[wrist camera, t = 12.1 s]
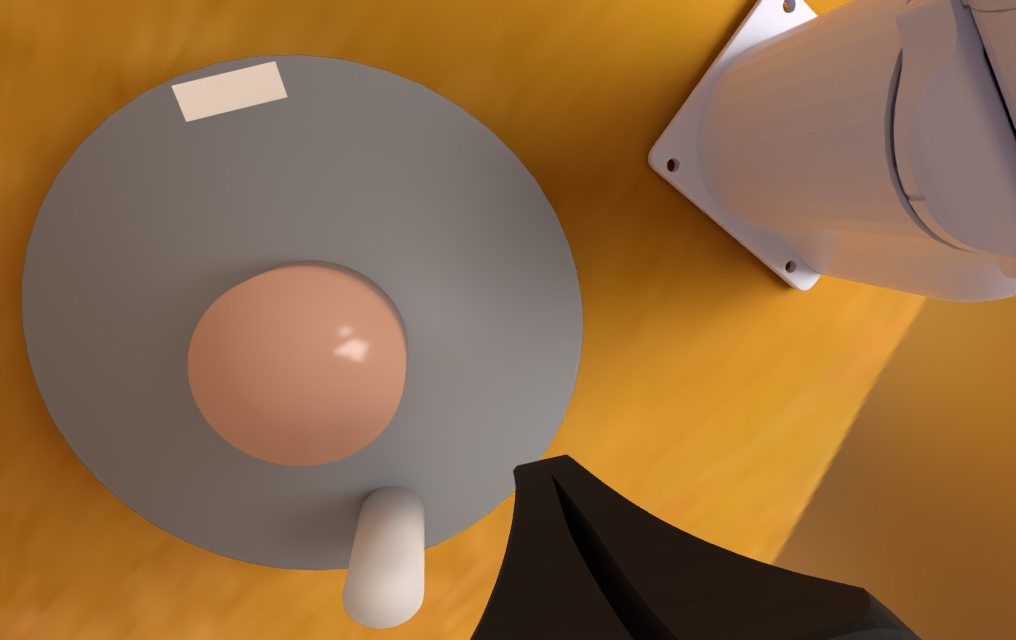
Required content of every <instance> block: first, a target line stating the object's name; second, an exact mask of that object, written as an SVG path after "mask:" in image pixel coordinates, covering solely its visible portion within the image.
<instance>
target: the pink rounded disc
mask: <svg viewBox="0 0 1016 640" xmlns="http://www.w3.org/2000/svg"><path fill="white" fill-rule="evenodd" d="M407 357H408V341H407V333H406V329H405V326H404V322H403V320H402V317H401V315H400V313H399V311H398V309H397V307H396V306H395V304H394V302H393V301H392V300H391V299H390V297H389V296H388V295H387V294H386V292H385V291H384V290H383V289H382V288H381V287H379V286H378V285H377V284H376V283H375V282H373V281H372V280H371V279H369V278H368V277H367V276H365V275H363V274H361V273H360V272H358V271H356V270H354V269H351V268H349V267H346V266H343V265H340V264H336V263H332V262H326V261H315V260H306V261H295V262H291V263H286V264H283V265H280V266H277V267H274V268H272V269H270V270H267V271H265V272H263V273H261V274H259V275H257V276H255V277H253V278H251V279H249V280H247V281H245V282H243V283H241V284H239V285H237V286H235V287H233V288H232V289H230V290H229V291H227V292H226V293H225V294H223V295H222V296H220V297H219V298H218V299H217V300H216V301H215V302H214V303H213V304H212V305H211V306H210V307H209V309H208V310H207V311H206V312H205V314H204V315H203V316H202V318H201V320H200V321H199V323H198V325H197V327H196V329H195V331H194V334H193V337H192V339H191V343H190V348H189V352H188V377H189V383H190V387H191V391H192V394H193V397H194V399H195V401H196V404H197V406H198V408H199V409H200V411H201V413H202V414H203V416H204V418H205V419H206V420H207V421H208V423H209V424H210V425H211V427H212V428H213V429H214V430H215V431H216V432H217V433H218V434H219V435H220V436H221V437H222V438H224V439H225V440H226V441H228V442H229V443H230V444H232V445H233V446H234V447H236V448H238V449H240V450H241V451H243V452H245V453H247V454H249V455H251V456H254V457H256V458H258V459H261V460H265V461H268V462H271V463H276V464H281V465H290V466H313V465H320V464H326V463H329V462H333V461H337V460H340V459H342V458H345V457H347V456H350V455H352V454H353V453H355V452H357V451H359V450H361V449H362V448H364V447H365V446H366V445H368V444H369V443H371V442H372V441H373V440H374V439H375V438H376V437H377V436H378V435H379V434H380V433H381V432H382V431H383V430H384V429H385V427H386V426H387V425H388V424H389V422H390V421H391V419H392V417H393V416H394V414H395V412H396V410H397V408H398V405H399V403H400V400H401V397H402V393H403V388H404V381H405V373H406V365H407Z"/></svg>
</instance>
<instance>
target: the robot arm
mask: <svg viewBox="0 0 1016 640" xmlns="http://www.w3.org/2000/svg"><path fill="white" fill-rule="evenodd" d="M784 1H785V2H786V3H787V5H788V12H787V13H786V12H785V11H784V9H783V3H784ZM670 159H672V160H673V161H674V163H675V167H674V170H673V171H671V172H670V171H669V170H668V169H667V163H668V161H669V160H670ZM648 162H649V165H650V166H651V168H652V169H653V170H654V171H656V172H657V173H658V174H659V175H660V176H662V177H663V178H664V179H665V180H666V181H667V182H669V183H670V184H671V185H672V186H673V187H675V188H676V189H677V190H678V191H679V192H680V193H682V194H683V195H684V196H685V197H686V198H688V199H689V200H690V201H691V202H692V203H693V204H695V205H696V206H697V207H698V208H699V209H700V210H702V211H703V212H704V213H705V214H706V215H708V216H709V217H710V218H711V219H712V220H713V221H715V222H716V223H717V224H718V225H719V226H721V227H722V228H723V229H724V230H725V231H726V232H728V233H729V234H730V235H731V236H732V237H734V238H735V239H736V240H737V241H738V242H739V243H741V244H742V245H743V246H744V247H745V248H746V249H748V250H749V251H750V252H751V253H752V254H754V255H755V256H756V257H757V258H758V259H759V260H761V261H762V262H763V263H764V264H765V265H767V266H768V267H769V268H770V269H771V270H772V271H774V272H775V273H776V274H777V275H778V276H780V277H781V278H782V279H783V280H784V281H785V282H787V283H788V284H789V285H790V286H791V287H792V288H794V289H796V290H800V291H806V290H808V289H810V288H811V287H812V286H813V285H814V284H815V282H816V281H817V280H818V278H819V277H820V276H821V275H827V276H831V277H836V278H841V279H846V280H850V281H855V282H860V283H865V284H869V285H874V286H879V287H884V288H889V289H893V290H898V291H903V292H908V293H912V294H917V295H922V296H927V297H931V298H936V299H941V300H947V301H957V302H978V301H989V300H996V299H1002V298H1007V297H1012V296H1016V0H853V1H851V2H849V3H847V4H844V5H842V6H840V7H838V8H835V9H833V10H831V11H829V12H826V13H824V14H822V15H820V16H817V15H816V14H815V13H814V12H813V11H812V10H811V8H810V7H809V6H808V5H807V4H806V3H805V2H804V1H803V0H757V2H756V3H755V5H754V6H753V7H752V9H751V10H750V12H749V13H748V14H747V16H746V17H745V19H744V20H743V21H742V23H741V24H740V26H739V27H738V28H737V30H736V31H735V33H734V34H733V35H732V37H731V38H730V40H729V41H728V42H727V44H726V45H725V47H724V48H723V49H722V51H721V52H720V54H719V55H718V56H717V58H716V59H715V61H714V62H713V63H712V65H711V66H710V67H709V69H708V70H707V72H706V73H705V74H704V76H703V77H702V79H701V80H700V81H699V83H698V84H697V86H696V87H695V88H694V90H693V91H692V93H691V94H690V95H689V97H688V98H687V100H686V101H685V102H684V104H683V105H682V107H681V108H680V109H679V111H678V112H677V114H676V115H675V116H674V118H673V119H672V121H671V122H670V123H669V125H668V126H667V128H666V129H665V130H664V132H663V133H662V135H661V136H660V137H659V139H658V140H657V141H656V143H655V144H654V146H653V147H652V148H651V150H650V152H649V154H648ZM788 262H790V267H789V269H788V270H787V271H786V270H785V266H786V264H787V263H788ZM513 474H514V480H515V486H516V492H515V505H514V513H513V520H512V526H511V530H510V535H509V539H508V544H507V548H506V552H505V556H504V559H503V563H502V566H501V569H500V572H499V575H498V578H497V581H496V584H495V586H494V589H493V591H492V594H491V596H490V599H489V601H488V604H487V606H486V608H485V611H484V613H483V615H482V617H481V620H480V622H479V624H478V626H477V628H476V629H475V631H474V633H473V635H472V637H471V639H470V640H921V639H920V638H919V637H918V636H917V635H916V634H915V633H914V632H913V631H912V630H911V629H910V628H909V627H908V626H906V625H905V624H904V623H903V622H902V621H901V620H900V619H899V618H898V617H896V615H895V614H894V613H892V612H891V611H890V610H889V609H888V608H887V607H886V606H884V605H883V604H882V603H881V602H880V601H878V600H877V599H876V598H875V597H874V596H872V595H871V594H870V593H869V592H867V591H866V590H865V589H864V588H860V587H856V586H851V585H847V584H843V583H838V582H834V581H830V580H825V579H820V578H817V577H812V576H807V575H804V574H800V573H796V572H792V571H789V570H786V569H783V568H779V567H776V566H773V565H769V564H766V563H763V562H760V561H757V560H754V559H751V558H748V557H745V556H742V555H739V554H737V553H734V552H731V551H729V550H726V549H724V548H721V547H719V546H716V545H714V544H711V543H709V542H706V541H704V540H702V539H699V538H697V537H695V536H693V535H691V534H689V533H687V532H684V531H682V530H680V529H678V528H676V527H674V526H672V525H670V524H668V523H666V522H664V521H663V520H661V519H659V518H657V517H655V516H654V515H652V514H650V513H648V512H647V511H645V510H644V509H642V508H640V507H639V506H637V505H635V504H634V503H632V502H631V501H629V500H627V499H626V498H625V497H623V496H622V495H620V494H619V493H617V492H616V491H615V490H613V489H612V488H610V487H609V486H607V485H606V484H605V483H603V482H602V481H601V480H599V479H598V478H597V477H595V476H594V475H593V474H592V473H590V472H589V471H588V470H586V469H585V468H584V467H583V466H581V465H580V464H579V463H578V462H576V461H575V460H574V459H573V458H571V457H570V456H568V455H562V456H558V457H553V458H549V459H544V460H539V461H535V462H530V463H526V464H521V465H517V466H516V467H515V469H514V470H513Z"/></svg>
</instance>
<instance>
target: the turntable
mask: <svg viewBox="0 0 1016 640" xmlns="http://www.w3.org/2000/svg"><path fill="white" fill-rule="evenodd" d="M306 260H315V261H326V262H332V263H336V264H340V265H343V266H346V267H349V268H351V269H354V270H356V271H358V272H360V273H361V274H363V275H365V276H367V277H368V278H369V279H371V280H372V281H373V282H375V283H376V284H377V285H378V286H379V287H381V288H382V289H383V290H384V291H385V292H386V294H387V295H388V296H389V297H390V299H391V300H392V301H393V302H394V304H395V306H396V307H397V309H398V311H399V313H400V315H401V317H402V320H403V322H404V326H405V329H406V333H407V341H408V357H407V365H406V373H405V381H404V388H403V393H402V397H401V400H400V403H399V405H398V408H397V410H396V412H395V414H394V416H393V417H392V419H391V421H390V422H389V424H388V425H387V426H386V427H385V429H384V430H383V431H382V432H381V433H380V434H379V435H378V436H377V437H376V438H375V439H374V440H373V441H372V442H371V443H369V444H368V445H366V446H365V447H364V448H362V449H361V450H359V451H357V452H355V453H353V454H352V455H350V456H347V457H345V458H342V459H340V460H337V461H333V462H329V463H326V464H320V465H313V466H290V465H281V464H276V463H271V462H268V461H265V460H261V459H258V458H256V457H254V456H251V455H249V454H247V453H245V452H243V451H241V450H240V449H238V448H236V447H234V446H233V445H232V444H230V443H229V442H228V441H226V440H225V439H224V438H222V437H221V436H220V435H219V434H218V433H217V432H216V431H215V430H214V429H213V428H212V427H211V425H210V424H209V423H208V421H207V420H206V419H205V418H204V416H203V414H202V413H201V411H200V409H199V408H198V406H197V404H196V401H195V399H194V397H193V394H192V391H191V387H190V383H189V377H188V352H189V348H190V343H191V339H192V337H193V334H194V331H195V329H196V327H197V325H198V323H199V321H200V320H201V318H202V316H203V315H204V314H205V312H206V311H207V310H208V309H209V307H210V306H211V305H212V304H213V303H214V302H215V301H216V300H217V299H218V298H219V297H220V296H222V295H223V294H225V293H226V292H227V291H229V290H230V289H232V288H233V287H235V286H237V285H239V284H241V283H243V282H245V281H247V280H249V279H251V278H253V277H255V276H257V275H259V274H261V273H263V272H265V271H267V270H270V269H272V268H274V267H277V266H280V265H283V264H286V263H291V262H295V261H306ZM22 324H23V330H24V336H25V342H26V348H27V354H28V359H29V362H30V365H31V368H32V371H33V374H34V377H35V380H36V383H37V386H38V389H39V392H40V394H41V396H42V398H43V400H44V402H45V405H46V407H47V409H48V411H49V413H50V415H51V417H52V419H53V421H54V423H55V425H56V426H57V428H58V429H59V431H60V432H61V434H62V435H63V437H64V438H65V440H66V441H67V443H68V444H69V446H70V447H71V449H72V450H73V452H74V453H75V455H76V456H77V457H78V458H79V459H80V460H81V461H82V463H83V464H84V465H85V466H86V467H87V468H88V469H89V470H90V472H91V473H92V474H93V475H94V476H95V477H96V478H97V480H98V481H99V482H100V483H101V484H103V485H104V486H105V487H106V488H107V489H108V490H109V491H110V492H112V493H113V494H114V495H115V496H116V497H117V498H118V499H120V500H121V501H122V502H123V503H124V504H125V505H126V506H128V507H129V508H131V509H132V510H134V511H135V512H137V513H138V514H139V515H141V516H142V517H144V518H145V519H147V520H148V521H150V522H151V523H152V524H154V525H155V526H157V527H159V528H161V529H163V530H165V531H167V532H169V533H170V534H172V535H174V536H176V537H178V538H180V539H182V540H184V541H185V542H188V543H190V544H193V545H195V546H198V547H201V548H203V549H206V550H208V551H211V552H213V553H216V554H218V555H222V556H226V557H229V558H233V559H237V560H240V561H244V562H247V563H252V564H258V565H264V566H270V567H276V568H283V569H300V570H332V569H348V572H347V577H346V582H345V587H344V591H343V605H344V608H345V610H346V612H347V613H348V615H349V616H350V617H351V618H352V619H353V620H354V621H356V622H357V623H359V624H361V625H364V626H366V627H370V628H389V627H394V626H397V625H399V624H402V623H404V622H405V621H407V620H408V619H410V618H411V617H412V616H413V615H414V614H415V613H416V612H417V611H418V609H419V608H420V606H421V604H422V601H423V597H424V549H427V548H429V547H432V546H434V545H437V544H439V543H441V542H443V541H445V540H447V539H448V538H450V537H452V536H454V535H456V534H458V533H460V532H462V531H464V530H465V529H467V528H468V527H470V526H471V525H473V524H474V523H476V522H477V521H478V520H480V519H481V518H483V517H484V516H486V515H487V514H489V513H490V512H491V511H492V510H493V509H494V508H496V507H497V506H498V505H499V504H500V503H501V502H503V501H504V500H505V499H506V498H507V497H508V496H510V495H511V494H512V493H513V491H514V490H515V489H516V486H515V480H514V474H513V470H514V469H515V467H516V466H517V465H521V464H526V463H530V462H535V461H539V460H540V459H541V458H542V456H543V455H544V453H545V452H546V451H547V449H548V447H549V446H550V444H551V442H552V440H553V438H554V436H555V434H556V433H557V431H558V429H559V427H560V425H561V423H562V421H563V418H564V416H565V413H566V411H567V408H568V405H569V403H570V400H571V398H572V395H573V391H574V387H575V383H576V379H577V375H578V371H579V367H580V358H581V349H582V340H583V312H582V299H581V293H580V286H579V280H578V273H577V270H576V266H575V263H574V259H573V256H572V253H571V249H570V246H569V242H568V240H567V238H566V235H565V233H564V231H563V229H562V226H561V224H560V222H559V219H558V217H557V215H556V213H555V211H554V209H553V207H552V206H551V204H550V202H549V201H548V199H547V197H546V196H545V194H544V192H543V191H542V189H541V187H540V186H539V184H538V182H537V181H536V180H535V178H534V177H533V176H532V175H531V173H530V172H529V171H528V170H527V168H526V167H525V166H524V165H523V163H522V162H521V161H520V160H519V158H518V157H517V156H516V155H515V153H514V152H513V151H512V150H511V149H510V148H509V147H508V146H506V145H505V144H504V143H503V142H502V141H501V140H500V139H499V138H498V137H497V136H496V135H495V134H494V133H493V132H492V131H491V130H490V129H489V128H488V127H487V126H485V125H484V124H483V123H481V122H480V121H479V120H477V119H476V118H474V117H473V116H472V115H470V114H469V113H468V112H466V111H465V110H464V109H462V108H461V107H460V106H458V105H457V104H455V103H454V102H452V101H450V100H448V99H446V98H445V97H443V96H441V95H439V94H437V93H436V92H434V91H432V90H430V89H428V88H427V87H425V86H423V85H421V84H419V83H416V82H414V81H411V80H409V79H406V78H404V77H401V76H399V75H396V74H394V73H391V72H389V71H386V70H383V69H379V68H375V67H371V66H367V65H363V64H359V63H355V62H351V61H348V60H343V59H334V58H325V57H317V56H308V55H275V56H257V57H251V58H244V59H238V60H232V61H226V62H220V63H216V64H213V65H210V66H207V67H204V68H201V69H197V70H194V71H191V72H188V73H185V74H182V75H179V76H177V77H175V78H173V79H171V80H169V81H167V82H165V83H162V84H160V85H158V86H156V87H154V88H152V89H150V90H148V91H146V92H144V93H142V94H141V95H139V96H138V97H136V98H135V99H134V100H132V101H131V102H129V103H128V104H126V105H125V106H123V107H122V108H121V109H119V110H118V111H116V112H115V113H113V114H112V115H111V116H109V117H108V118H107V119H106V120H105V121H104V122H103V123H102V124H101V125H100V126H99V127H98V128H97V129H96V130H95V131H94V132H93V133H91V134H90V135H89V136H88V137H87V138H86V139H85V140H84V141H83V142H82V143H81V144H80V145H79V147H78V148H77V149H76V151H75V152H74V153H73V155H72V156H71V157H70V159H69V160H68V161H67V163H66V164H65V165H64V167H63V168H62V169H61V171H60V172H59V173H58V175H57V176H56V178H55V180H54V182H53V184H52V186H51V188H50V190H49V192H48V194H47V196H46V198H45V199H44V201H43V203H42V205H41V207H40V209H39V212H38V215H37V218H36V221H35V224H34V227H33V230H32V233H31V236H30V239H29V242H28V246H27V251H26V258H25V264H24V271H23V278H22Z"/></svg>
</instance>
